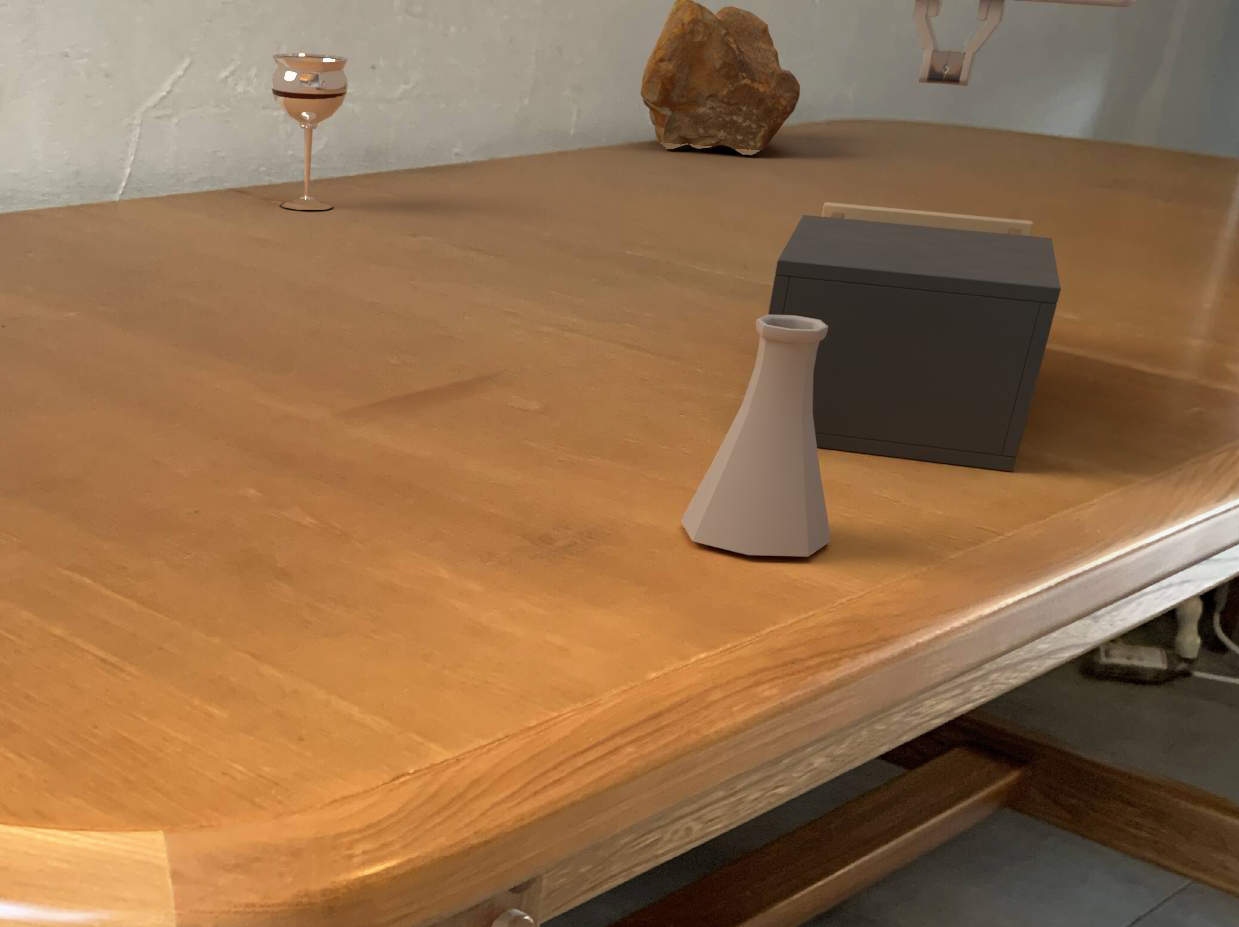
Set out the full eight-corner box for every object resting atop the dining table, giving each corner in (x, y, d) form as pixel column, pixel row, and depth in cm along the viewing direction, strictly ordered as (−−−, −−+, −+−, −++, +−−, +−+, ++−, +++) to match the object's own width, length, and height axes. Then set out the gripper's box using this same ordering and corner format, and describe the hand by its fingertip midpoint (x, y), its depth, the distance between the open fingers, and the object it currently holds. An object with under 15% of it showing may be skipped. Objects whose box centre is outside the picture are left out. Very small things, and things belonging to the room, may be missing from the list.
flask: (833, 523, 84) (876, 313, 79) (825, 570, 78) (871, 347, 73) (688, 505, 86) (720, 298, 80) (670, 550, 80) (703, 330, 75)
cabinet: (774, 375, 109) (802, 214, 104) (1010, 402, 105) (1052, 237, 100) (746, 438, 96) (777, 259, 91) (1013, 471, 93) (1061, 287, 88)
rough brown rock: (744, 175, 186) (782, 21, 177) (610, 143, 192) (640, -7, 184) (816, 161, 202) (854, 20, 194) (690, 132, 209) (722, -6, 200)
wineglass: (358, 208, 154) (364, 59, 148) (306, 215, 150) (310, 63, 144) (305, 197, 158) (309, 51, 152) (253, 204, 154) (255, 54, 147)
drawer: (808, 309, 122) (830, 191, 117) (1001, 329, 119) (1031, 209, 114) (782, 370, 106) (806, 237, 102) (1004, 395, 103) (1038, 259, 99)
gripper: (1196, -183, 95) (1124, 92, 103) (831, -194, 101) (788, 66, 109) (1198, -188, 90) (1122, 102, 98) (813, -199, 96) (770, 74, 104)
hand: (943, 83), depth 104 cm, fingers closed
